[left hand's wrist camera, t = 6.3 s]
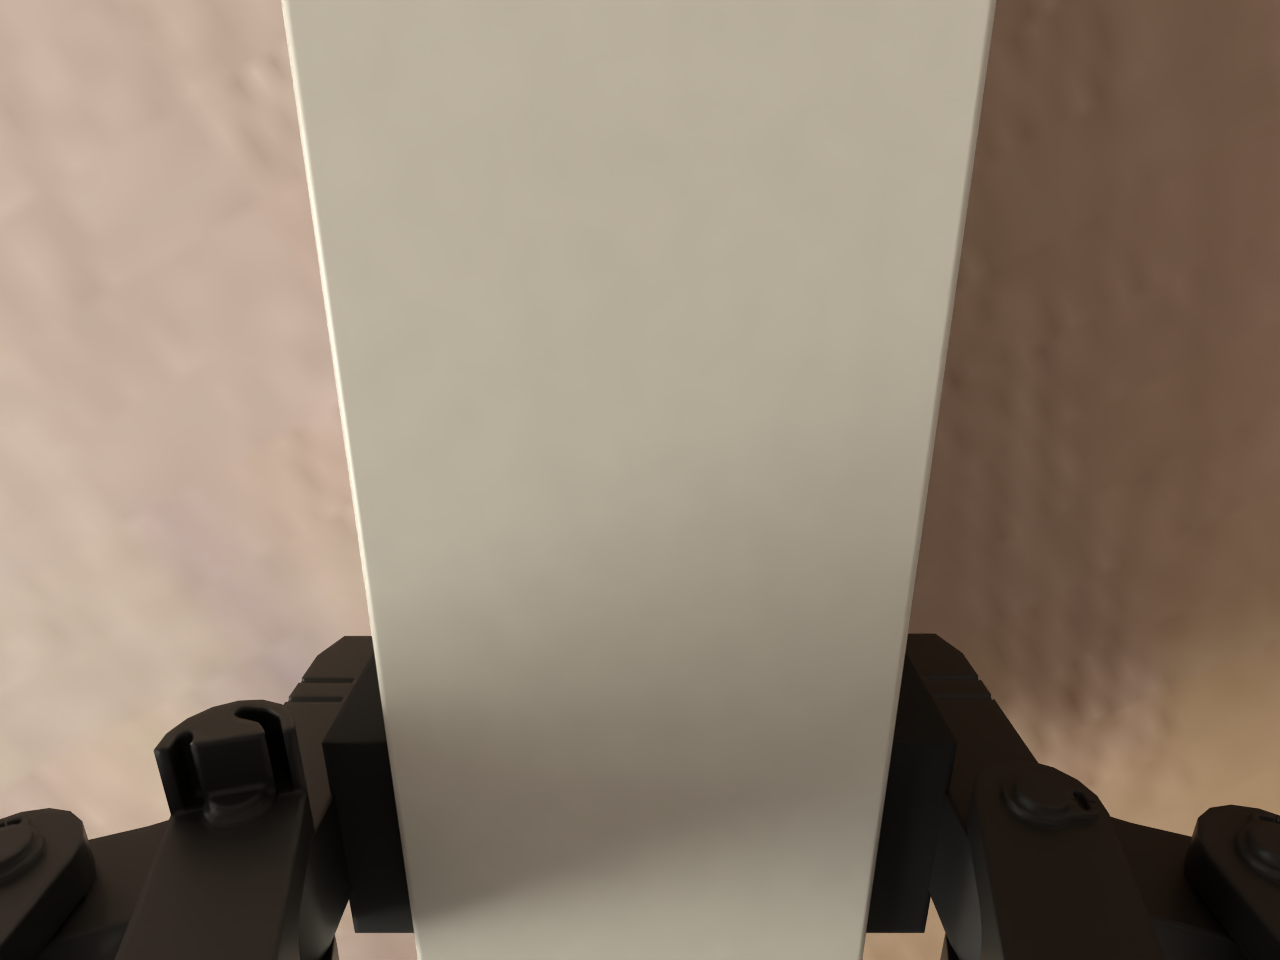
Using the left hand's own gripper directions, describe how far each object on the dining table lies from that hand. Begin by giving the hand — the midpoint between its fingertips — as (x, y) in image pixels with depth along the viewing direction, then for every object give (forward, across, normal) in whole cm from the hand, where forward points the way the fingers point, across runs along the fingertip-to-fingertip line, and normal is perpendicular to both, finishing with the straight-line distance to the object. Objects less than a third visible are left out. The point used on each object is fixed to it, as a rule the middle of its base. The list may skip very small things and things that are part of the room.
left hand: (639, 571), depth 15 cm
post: (0, 0, -30) cm, 30 cm away
